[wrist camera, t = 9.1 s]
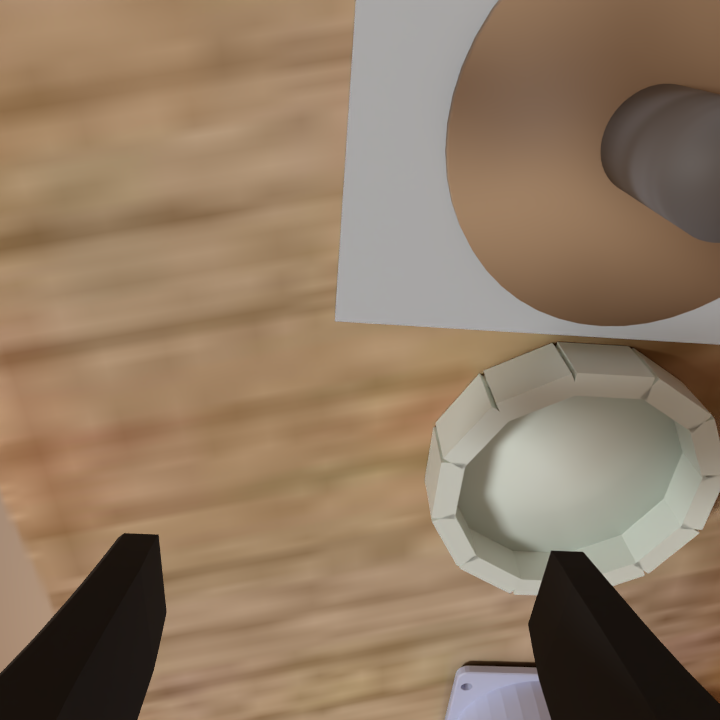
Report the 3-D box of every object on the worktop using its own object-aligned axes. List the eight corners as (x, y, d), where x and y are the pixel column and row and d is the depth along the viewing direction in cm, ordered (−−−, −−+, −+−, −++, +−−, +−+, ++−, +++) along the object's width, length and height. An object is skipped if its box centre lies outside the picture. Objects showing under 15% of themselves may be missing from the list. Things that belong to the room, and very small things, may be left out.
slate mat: (818, 343, 21) (827, 351, 20) (335, 314, 20) (335, 321, 19) (1044, -121, 15) (1065, -125, 14) (368, -195, 14) (369, -202, 13)
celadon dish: (647, 559, 26) (669, 600, 24) (413, 550, 25) (418, 591, 23) (733, 352, 21) (769, 383, 19) (448, 335, 20) (458, 365, 19)
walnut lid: (760, 326, 20) (865, 406, 16) (422, 308, 19) (444, 387, 15) (936, -88, 15) (1158, -123, 11) (480, -131, 14) (536, -186, 10)
